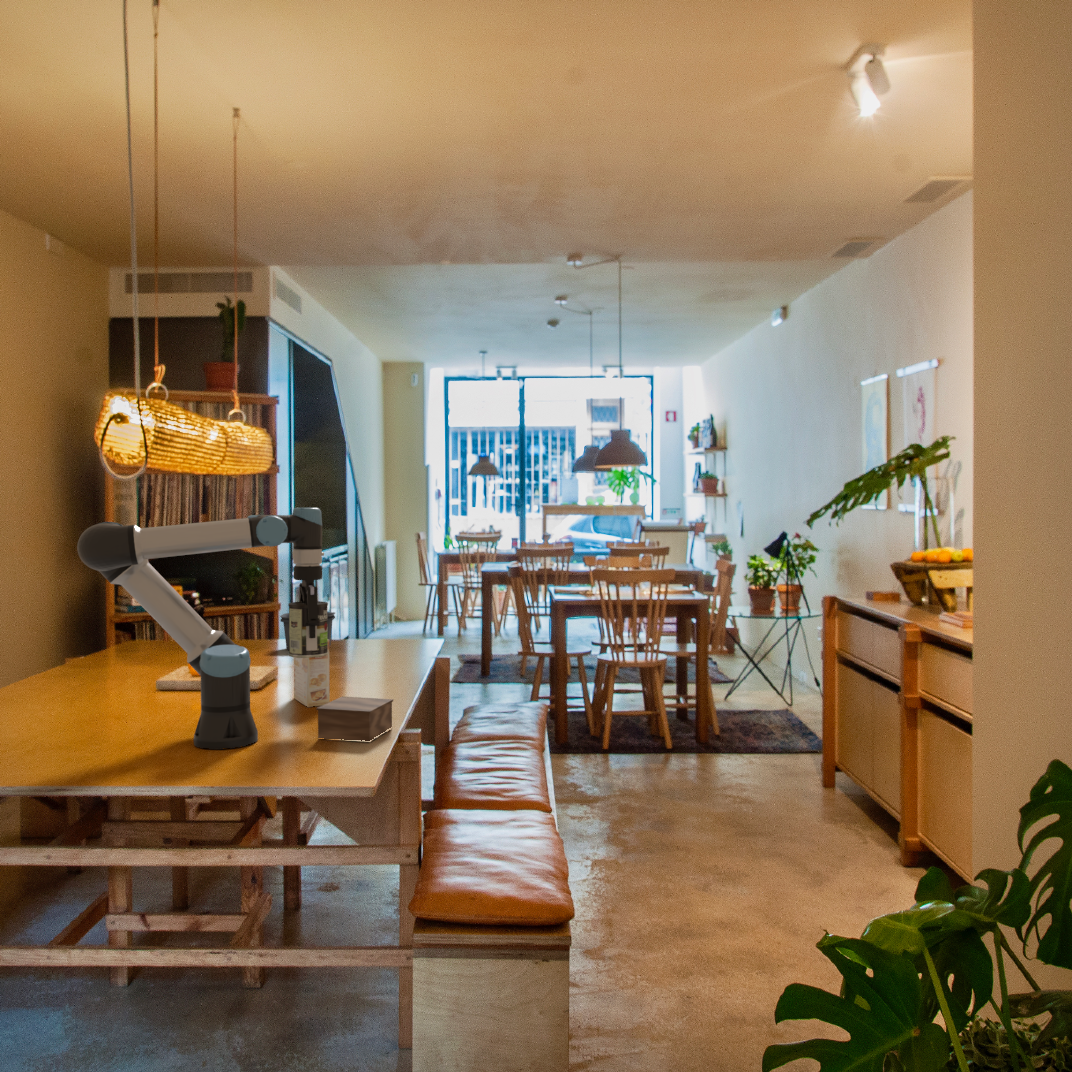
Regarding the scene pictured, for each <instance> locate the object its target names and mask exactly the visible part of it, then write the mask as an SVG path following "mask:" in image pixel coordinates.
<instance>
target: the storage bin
mask: <svg viewBox="0 0 1072 1072" xmlns="http://www.w3.org/2000/svg"><path fill="white" fill-rule="evenodd" d="M335 614H336V612H334V611H333V612H331V611H329V612H328V611H327V639H329V640H330V641H329V648H330V647H331V642H332V629H333V621H334V619H336V616H335ZM279 617H280V622H282V623H283V629H284V638H285V639H284V640H285V646H286V650H287V651H289V612H288V613H287V612H286V613H283V614H281V615H279Z"/></svg>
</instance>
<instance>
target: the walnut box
mask: <svg viewBox="0 0 1072 1072" xmlns="http://www.w3.org/2000/svg"><path fill="white" fill-rule="evenodd" d="M393 702H394V698H393V699H392V698H391V699H390V698H373V697H359V696H358V697H357V696H341V697H338V698H336V699H333V700H332V701H331V700H330V702H329V703H327V704H325V705H322V706H317V707H315V708H316V709H315V710H316V711H317V739H318V738H324V739H341V740H342V739H344V740H361V741H362V740H365V741H370V740H372V739H374V737H376V736H378V735H380V734H381V733H383V732H385V731H386V730H387V729H389V728H391V727H392V728H393Z"/></svg>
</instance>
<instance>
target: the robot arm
mask: <svg viewBox="0 0 1072 1072" xmlns="http://www.w3.org/2000/svg"><path fill="white" fill-rule="evenodd" d="M322 517H323V515H322V510H321V508H319V507H294V508H293V509H292V514H284V515H281V514H255V515H254V514H251V515H248V516H247V517H246V518H245V517H244V518H235V519H234V518H233V519H232V518H231V519H224V520H215V521H214V520H213V521H205V522H204V521H203V522H201V521H200V522H193V523H183V524H173V525H172V524H170V525H164V526H163V525H162V526H153V527H152V526H151V527H142V528H141V527H139V526H138V525H137V524H131V525H123V524H121V523H119V522H113V521H104V522H99V523H97V524H94V525H93V524H92V525H91V526H89V527H88V528H86V529H85V530H84V531H83V532H82V533H81V534H80V536H79V539H78V541H77V546H76V549H77V554H78V557H79V558H80V561H81V562H82V563H83V564H84V565H86V566H87V567H88V568H89V569H92V570H95V571H97V572H99V573H100V574H101V575H102V576H103V577H104V578H105V579H106V581H108V582H109V583H110V585H119V586H121V587H122V588H123V589H124V590H125V591H126V592H127V593H128V594H129V595H130V596H131V597H132V598H133V599H134V600H135V601H136V602H137V603H138V604H139V605H140V606H141V607H142V608H143V609H144V611H146V612H147V613H148V614H149V616H151V617H152V618H153V619H154V621H156V623H158V624H159V626H161V628H162V629H163V630H164V631H165V632H166V633H167V635H169V636H170V637H171V638H172V639H173V640H174V641H175V642H176V643H177V644H178V645H179V646H180V648H182V650H183V651H185V652H186V654H187V656H186V657H187V658H186V662H187V664H188V665H189V666H190V667H192V668H193V670H194V671H196V672H197V674H198V675H199V676H200V715H199V718H198V722H197V724H196V728H195V731H194V734H193V745H194V747H196V748H199V747H200V748H199V749H203V748H209V749H208V750H224V749H223V748H230V749H236V748H235V747H238V748H242V747H241V746H243V747H246V745H247V746H249V745H248V744H250V745H252V744H251V743H253V744H255V743H257V741H258V739H259V732H258V731H259V730H258V728H257V724H256V723H255V719H254V717H253V714H252V711H251V663H252V662H251V657H250V651H249V650H248V648H246V647H245V646H242V645H241V646H240V645H238V644H236V643H235V642H234V641H233V640H232V639H231V638H230V637H229V636H228V635H227V634H226V633H225V632H224V631H223V630H215V629H213V628H212V627H211V626H210V625H209V623H207V622H206V620H204V618H202V617H201V616H200V615H199V613H198V612H197V611H196V610H195V609H194V608H193V607H192V606H191V605H190V604H189V603H188V602H187V601H186V599H184V598H183V596H181V595H180V594H179V592H178V591H177V590H176V589H175V587H173V586H172V585H171V584H170V583H169V581H167V580H166V579H165V578H164V577H163V576H162V575H161V574H160V573H159V571H158V570H156V569H155V567H154V566H152V564H151V563H150V562H149V560H151V559H159V558H160V559H161V558H168V557H177V556H185V555H187V556H188V555H196V554H197V555H198V554H206V553H215V552H224V551H231V550H233V551H234V550H240V549H249V548H262V547H270V548H271V547H276V546H279V545H282V544H292V543H293V548H292V555H293V557H292V559H293V560H292V562H293V564H295V565H294V566H293V579H294V580H295V581H301V582H300V583H298V584H299V585H298V586H299V597H298V599H299V601H298V602H301V603H305V605H307V607H308V609H307V623H305V624H304V626H306V651H311V650H317V624H318V623H319V621H318V605H317V601H318V587H317V586H315V581H320V580H322V579H323V566H322V565H321V564H322V563H323V557H324V556H325V553H324V552H323V518H322ZM254 742H255V743H254Z"/></svg>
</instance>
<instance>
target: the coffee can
mask: <svg viewBox="0 0 1072 1072" xmlns="http://www.w3.org/2000/svg"><path fill="white" fill-rule="evenodd" d="M317 605H318V621H319V623H318V624H317V650H311V651H306V626H304V624H305V623H307V609H308V607H307V605H305V603H301V602H299V601H292V602H289V603H288V605H287V606H288V613H289V650H288V651H289V652H288V653H289V654H288V656H289V657H290V658H294V657H296V658H314V657H322V656H326V655H328V644H327V612H328V605H329V603H328V602H326V601H321V600H320V601H319V600H317Z"/></svg>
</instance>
